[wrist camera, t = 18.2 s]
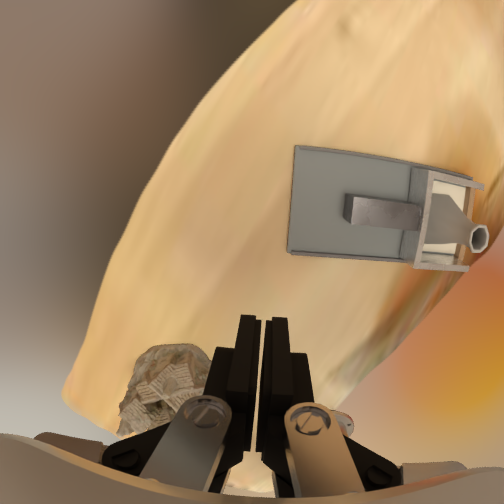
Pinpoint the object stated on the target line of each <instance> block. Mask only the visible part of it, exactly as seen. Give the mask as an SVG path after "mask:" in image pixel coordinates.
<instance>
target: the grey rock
mask: <svg viewBox="0 0 504 504" xmlns="http://www.w3.org/2000/svg"><path fill="white" fill-rule="evenodd" d="M211 363H212V362H211V361H210V360H209V359H208V358H207V355H205V353H204V352H203V351H202V350H201V349H200V348H198V347H197V346H195V345H193V344H191V345H190V344H186V345H185V344H182V345H180V344H173V345H159V346H158V345H157V346H154V347H152V348H151V349H148V351H147V352H146V353H144V354H142V355H141V356H140V357H139V358H138V359H137V361H136V364H135V368H134V374H133V376H132V378H131V380H130V382H129V384H128V391H126V396H125V397H124V400H123V401H122V402H121V403H120V405H119V408H120V413H119V415H118V416H120V417H121V418H122V419H121V421H120V426H119V429H118V431H117V432H116V434H117V435H118V437H122V436H124V435H129V434H130V433H132V432H134V431H135V432H136V433H137V434H140V433H143V432H144V431H145V430H146V429H147V428H148V429H147V431H148V430H151V429H153V428H156V427H158V426H161V425H163V424H166V423H168V422H171V421H172V420H173V418H174V416H175V415H176V413H177V411H178V410H179V408H180V406H181V405H182V404H183V403H184V402H185V401H186V400H188V399H189V398H192V397H195V396H199V395H202V394H203V391H204V387H205V384H206V380H207V377H208V373H209V370H210V366H211Z"/></svg>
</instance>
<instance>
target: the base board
mask: <svg viewBox="0 0 504 504" xmlns="http://www.w3.org/2000/svg"><path fill="white" fill-rule="evenodd" d="M412 168H417V169H425V170H431V171H436V172H440V173H444V174H448V175H452V176H456V177H460V178H464V179H467V180H471V181H473V177H470V176H466V175H463V174H459V173H455V172H451V171H447V170H443V169H439V168H435V167H431V166H427V165H422V164H418V163H413V162H408V161H403V160H398V159H393V158H388V157H382V156H376V155H370V154H364V153H358V152H351V151H344V150H336V149H328V148H320V147H311V146H297V145H295V153H294V168H293V182H292V196H291V208H290V220H289V232H288V243H287V253H291V254H292V255H301V256H315V257H330V258H344V259H358V260H373V261H387V262H402V263H406V262H405V261H404V260H403V259H401V258H400V257H399V254H400V249H401V244H402V238H403V233H404V230H401V229H392V228H382V227H373V226H363V225H353V224H350V223H349V222H347V221H346V220H345V219H344V218H343V213H344V204H345V194H346V193H350V194H358V195H366V196H374V197H381V198H388V199H395V200H402V201H408V199H409V191H410V182H411V172H412ZM474 182H476V181H474ZM432 193H437V194H446V195H450V197H451V198H452V199H453V200H454V202H455V203H456V204H457V205H458V207H459V208H460V209H461V210H462V212H463V213H464V214H465V215H466V217H467V218H469V219H470V220H471V218H472V211H473V205H474V197H475V188H471V187H466V186H462V185H458V184H454V183H450V182H446V181H441V180H437V179H434V181H433V190H432ZM465 248H466V246H465V245H462V244H458V243H450V244H424V246H423V251H422V253H433V254H444V255H453V256H455V257H456V258H458V259H460V260H461V261H463V257H464V253H465Z"/></svg>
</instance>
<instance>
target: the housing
mask: <svg viewBox="0 0 504 504" xmlns="http://www.w3.org/2000/svg"><path fill="white" fill-rule="evenodd" d="M434 179H437V180H441V181H446V182H450V183H454V184H458V185H462V186H466V187H471V188H475V189H479V190H483V191H484V184H481V183H478V182H474V181H471V180H467V179H464V178H460V177H456V176H452V175H448V174H444V173H440V172H436V171H431V170H425V169H417V168H412V172H411V182H410V191H409V199H408V201H402V200H395V199H388V198H381V197H374V196H366V195H358V194H350V193H346V194H345V204H344V213H343V218H344V219H345V220H346V221H347V222H349V223H350V224H353V225H363V226H373V227H382V228H392V229H401V230H404V233H403V238H402V244H401V249H400V254H399V257H400V258H401V259H403V260H404V261H405V262H406V263H407V264H409V265H410V266H411V267H412V268H413V269H430V270H447V271H464V272H468V270H469V265H467V264H466V263H464V262H463V261H461V260H460V259H458V258H456V257H455V256H453V255H444V254H433V253H422V251H423V246H424V241H425V236H426V230H427V224H428V218H429V212H430V205H431V198H432V190H433V181H434Z"/></svg>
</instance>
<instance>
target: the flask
mask: <svg viewBox="0 0 504 504" xmlns="http://www.w3.org/2000/svg"><path fill="white" fill-rule="evenodd" d="M488 239H489V233H488V229H487V226H486V225H480V224H475V223H474V222H472V221H471V220H470V219H469V218H467V217H466V215H465V214H464V213H463V212H462V210H461V209H460V208H459V207H458V205H457V204H456V203H455V202H454V200H453V199H452V198H451V197H450V195H446V194H437V193H432V198H431V205H430V212H429V218H428V224H427V230H426V236H425V241H424V244H450V243H458V244H462V245H465V246H467V247H469V248H470V251H471V252H472V253H481V252H482V251H483V250H484V249H485V248H486V247H487V245H488Z"/></svg>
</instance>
